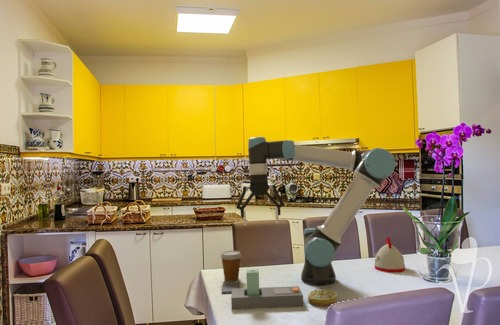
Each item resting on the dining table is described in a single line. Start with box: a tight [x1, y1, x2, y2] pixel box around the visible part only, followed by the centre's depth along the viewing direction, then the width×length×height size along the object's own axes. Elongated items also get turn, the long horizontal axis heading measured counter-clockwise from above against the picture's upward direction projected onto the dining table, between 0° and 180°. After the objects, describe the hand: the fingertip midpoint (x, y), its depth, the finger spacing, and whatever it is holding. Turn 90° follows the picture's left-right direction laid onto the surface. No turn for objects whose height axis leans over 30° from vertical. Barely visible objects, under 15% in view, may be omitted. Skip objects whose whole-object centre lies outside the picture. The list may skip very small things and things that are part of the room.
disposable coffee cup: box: [220, 250, 242, 282], centre depth 165 cm, size 10×10×12 cm
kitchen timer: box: [374, 236, 406, 274], centre depth 175 cm, size 14×14×15 cm
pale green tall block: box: [245, 268, 260, 296], centre depth 135 cm, size 4×4×12 cm
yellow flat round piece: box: [307, 288, 338, 307], centre depth 134 cm, size 10×11×4 cm
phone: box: [221, 281, 240, 295], centre depth 152 cm, size 7×13×1 cm, turn 1°
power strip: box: [230, 285, 304, 310], centre depth 135 cm, size 26×10×5 cm, turn 91°
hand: (261, 224), depth 151 cm, fingers open, 13 cm apart
